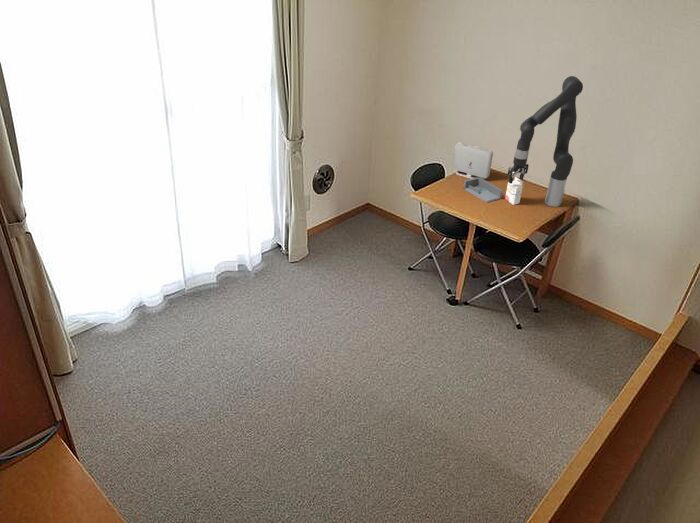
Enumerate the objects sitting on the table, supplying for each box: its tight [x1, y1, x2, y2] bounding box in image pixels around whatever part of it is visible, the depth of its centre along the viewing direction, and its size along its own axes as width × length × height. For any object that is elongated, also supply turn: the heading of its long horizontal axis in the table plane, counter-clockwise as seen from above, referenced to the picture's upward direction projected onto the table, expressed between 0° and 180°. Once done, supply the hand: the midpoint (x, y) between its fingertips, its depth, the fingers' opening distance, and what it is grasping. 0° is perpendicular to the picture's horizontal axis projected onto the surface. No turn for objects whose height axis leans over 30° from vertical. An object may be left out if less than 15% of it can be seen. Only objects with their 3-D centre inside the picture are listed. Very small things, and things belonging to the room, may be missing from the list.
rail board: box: [462, 176, 504, 203], centre depth 346 cm, size 12×22×6 cm, turn 31°
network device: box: [451, 141, 494, 180], centre depth 365 cm, size 26×9×20 cm, turn 53°
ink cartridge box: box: [504, 176, 524, 206], centre depth 335 cm, size 9×5×15 cm, turn 25°
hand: (515, 181), depth 332 cm, fingers open, 8 cm apart
